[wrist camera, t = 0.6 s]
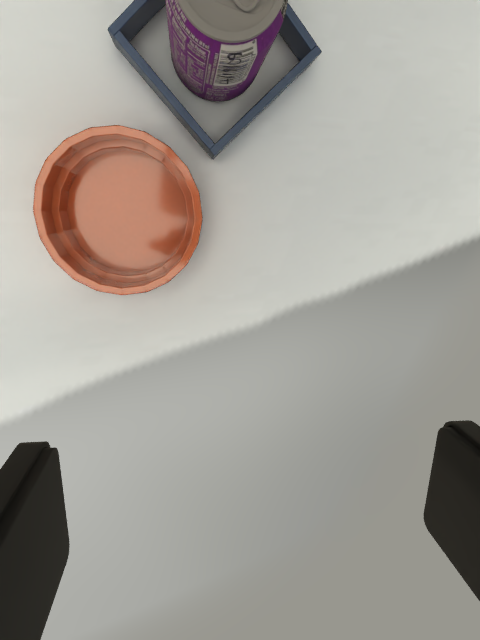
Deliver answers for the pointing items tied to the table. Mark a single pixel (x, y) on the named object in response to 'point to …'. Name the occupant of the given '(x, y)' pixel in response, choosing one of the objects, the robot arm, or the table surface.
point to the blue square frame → (121, 33)
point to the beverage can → (221, 42)
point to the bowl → (117, 210)
